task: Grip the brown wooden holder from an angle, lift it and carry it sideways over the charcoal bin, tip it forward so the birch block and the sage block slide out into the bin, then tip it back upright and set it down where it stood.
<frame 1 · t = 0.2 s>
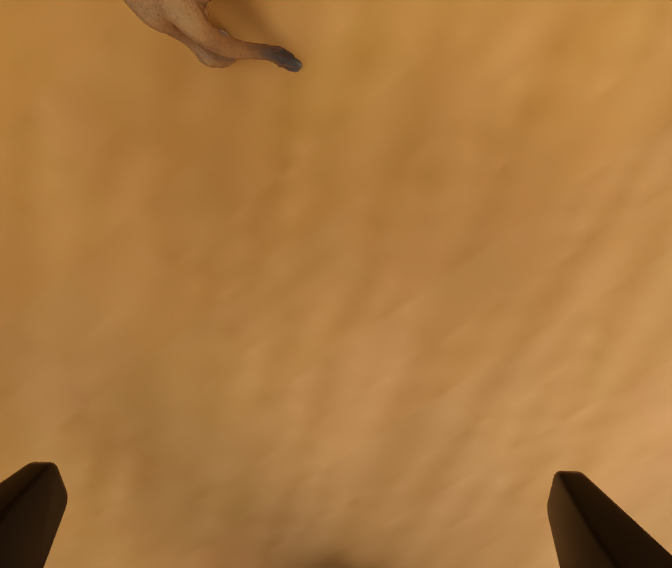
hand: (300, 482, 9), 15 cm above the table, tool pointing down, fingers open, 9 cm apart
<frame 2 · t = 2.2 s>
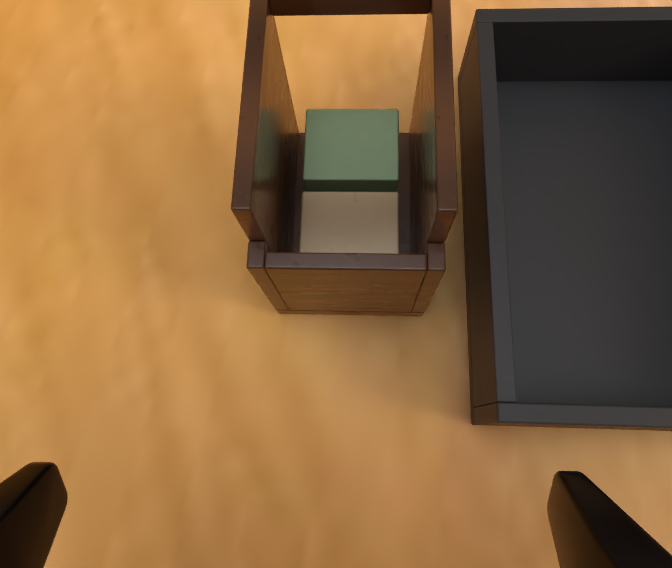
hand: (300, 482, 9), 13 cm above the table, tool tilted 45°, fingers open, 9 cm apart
birch block: (350, 253, 24), point 1 cm above the table, touching brown wooden holder
bin: (587, 235, 24), on the table
sage block: (352, 176, 25), point 1 cm above the table, touching brown wooden holder
brown wooden holder: (352, 223, 25), on the table, touching birch block, sage block
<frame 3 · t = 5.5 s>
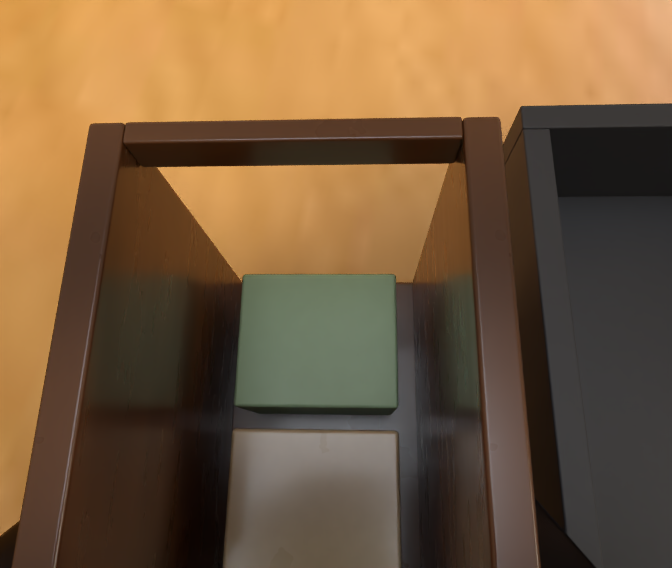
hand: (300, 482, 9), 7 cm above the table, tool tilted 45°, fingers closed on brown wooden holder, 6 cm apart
birch block: (322, 494, 15), point 1 cm above the table, touching brown wooden holder
sage block: (325, 357, 16), point 1 cm above the table, touching brown wooden holder
brown wooden holder: (325, 429, 16), on the table, touching birch block, gripper, sage block
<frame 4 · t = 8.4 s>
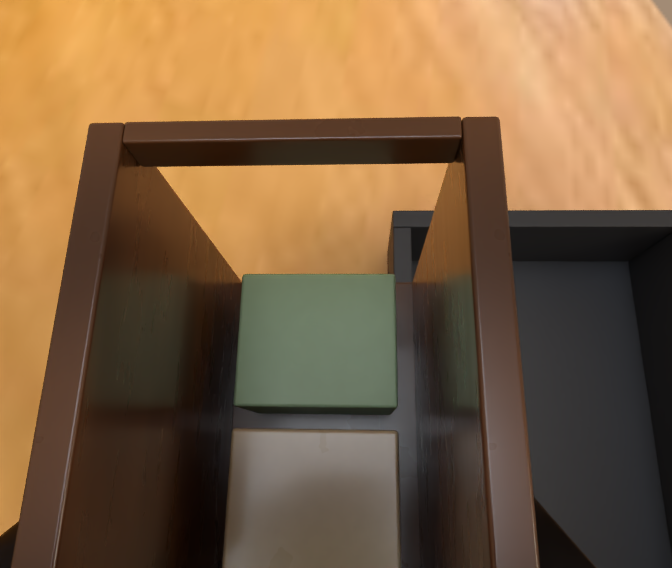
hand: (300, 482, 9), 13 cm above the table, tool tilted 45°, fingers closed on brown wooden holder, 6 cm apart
birch block: (322, 494, 15), point 8 cm above the table, touching brown wooden holder
bin: (525, 445, 22), on the table
sage block: (324, 356, 16), point 8 cm above the table, touching brown wooden holder
brown wooden holder: (325, 429, 16), point 7 cm above the table, touching birch block, gripper, sage block
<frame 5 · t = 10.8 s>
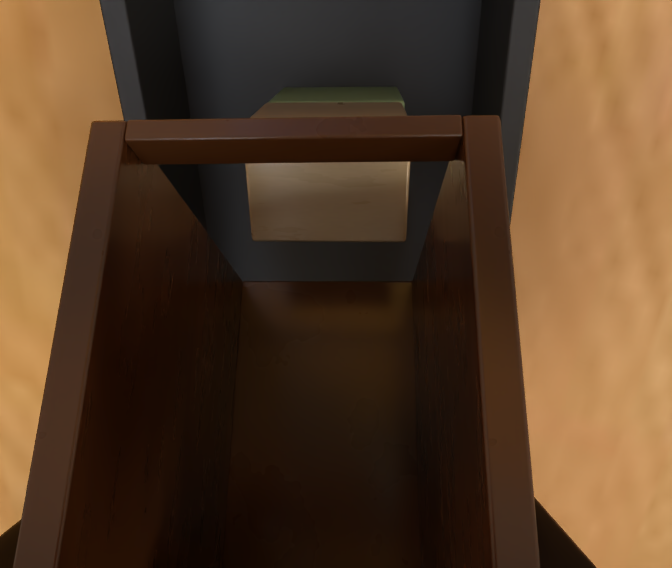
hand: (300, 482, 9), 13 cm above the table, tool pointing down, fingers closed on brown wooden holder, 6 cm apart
birch block: (331, 220, 15), point 6 cm above the table, tilted 90°, touching sage block
bin: (331, 174, 20), on the table
sage block: (338, 185, 18), point 2 cm above the table, tilted 90°, touching bin, birch block
brown wooden holder: (325, 427, 16), point 8 cm above the table, tilted 44°, touching gripper
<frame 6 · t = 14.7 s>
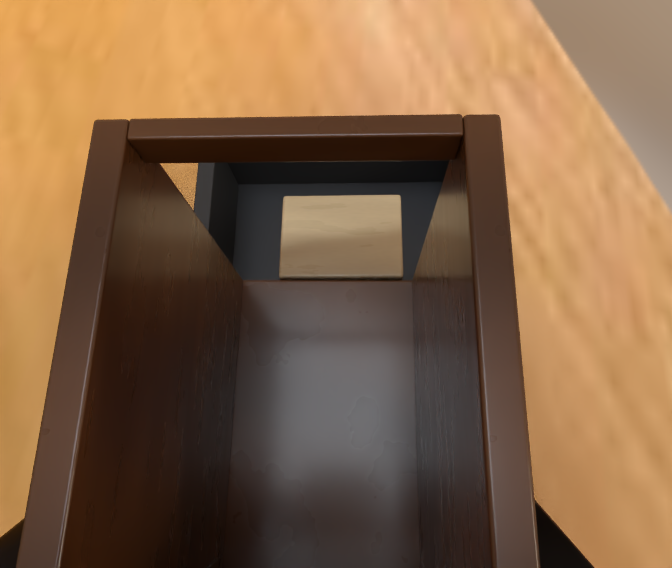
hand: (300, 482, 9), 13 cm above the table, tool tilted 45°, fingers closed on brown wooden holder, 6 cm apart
birch block: (342, 294, 18), point 6 cm above the table, tilted 93°, touching brown wooden holder, sage block
bin: (339, 349, 24), on the table
brown wooden holder: (325, 425, 16), point 7 cm above the table, touching birch block, gripper
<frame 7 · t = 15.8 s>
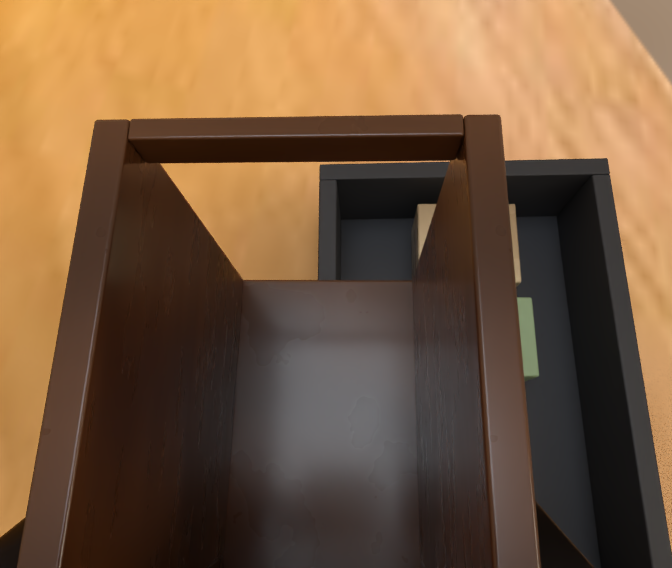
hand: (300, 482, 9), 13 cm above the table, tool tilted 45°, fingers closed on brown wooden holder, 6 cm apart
birch block: (468, 241, 21), point 4 cm above the table, tilted 180°, touching bin
bin: (455, 392, 23), on the table
sage block: (474, 381, 21), point 2 cm above the table, tilted 90°, touching bin
brown wooden holder: (325, 425, 16), point 7 cm above the table, touching gripper
when the fingers open (7 cm above the table, at t = 19.1 s): brown wooden holder stays where it is, on the table.
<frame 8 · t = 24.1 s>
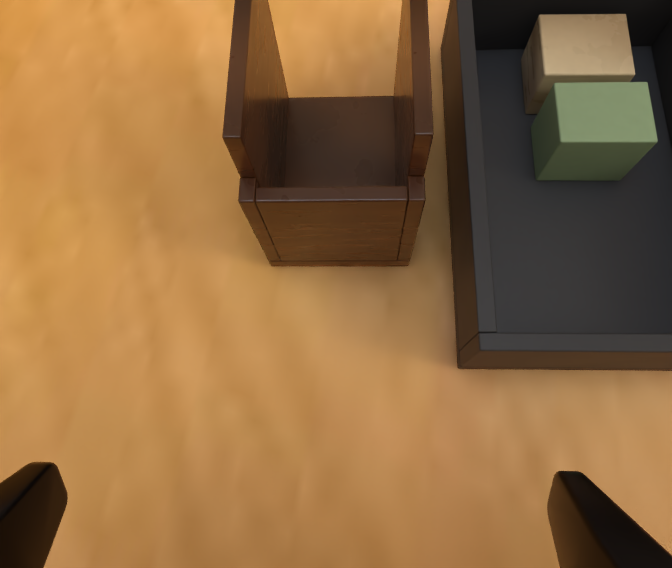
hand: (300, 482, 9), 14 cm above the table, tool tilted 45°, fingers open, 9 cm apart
birch block: (586, 43, 24), point 4 cm above the table, tilted 180°, touching bin
bin: (565, 191, 26), on the table
sage block: (592, 162, 23), point 2 cm above the table, tilted 90°, touching bin
brown wooden holder: (340, 182, 26), on the table
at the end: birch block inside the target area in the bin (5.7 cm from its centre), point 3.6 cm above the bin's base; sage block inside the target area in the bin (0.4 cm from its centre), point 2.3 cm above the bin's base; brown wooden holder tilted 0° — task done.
